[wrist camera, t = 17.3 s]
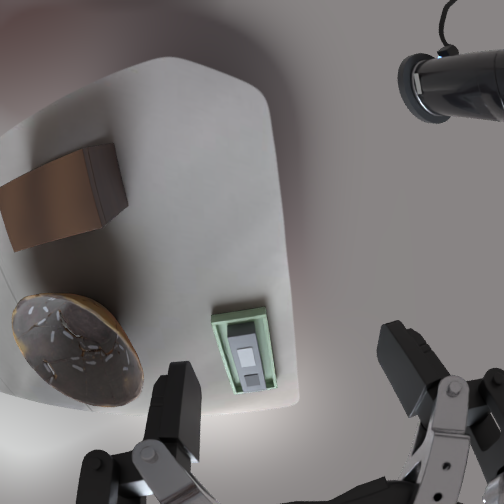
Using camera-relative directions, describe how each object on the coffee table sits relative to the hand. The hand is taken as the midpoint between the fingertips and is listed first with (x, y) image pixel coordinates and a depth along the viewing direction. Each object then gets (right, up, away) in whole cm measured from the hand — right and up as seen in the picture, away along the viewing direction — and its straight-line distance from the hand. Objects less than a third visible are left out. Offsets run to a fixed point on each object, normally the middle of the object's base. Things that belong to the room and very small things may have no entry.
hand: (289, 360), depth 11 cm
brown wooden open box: (-27, +13, +23) cm, 38 cm away
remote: (-2, -14, +36) cm, 39 cm away
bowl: (-30, -8, +32) cm, 45 cm away
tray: (-2, -13, +37) cm, 39 cm away
